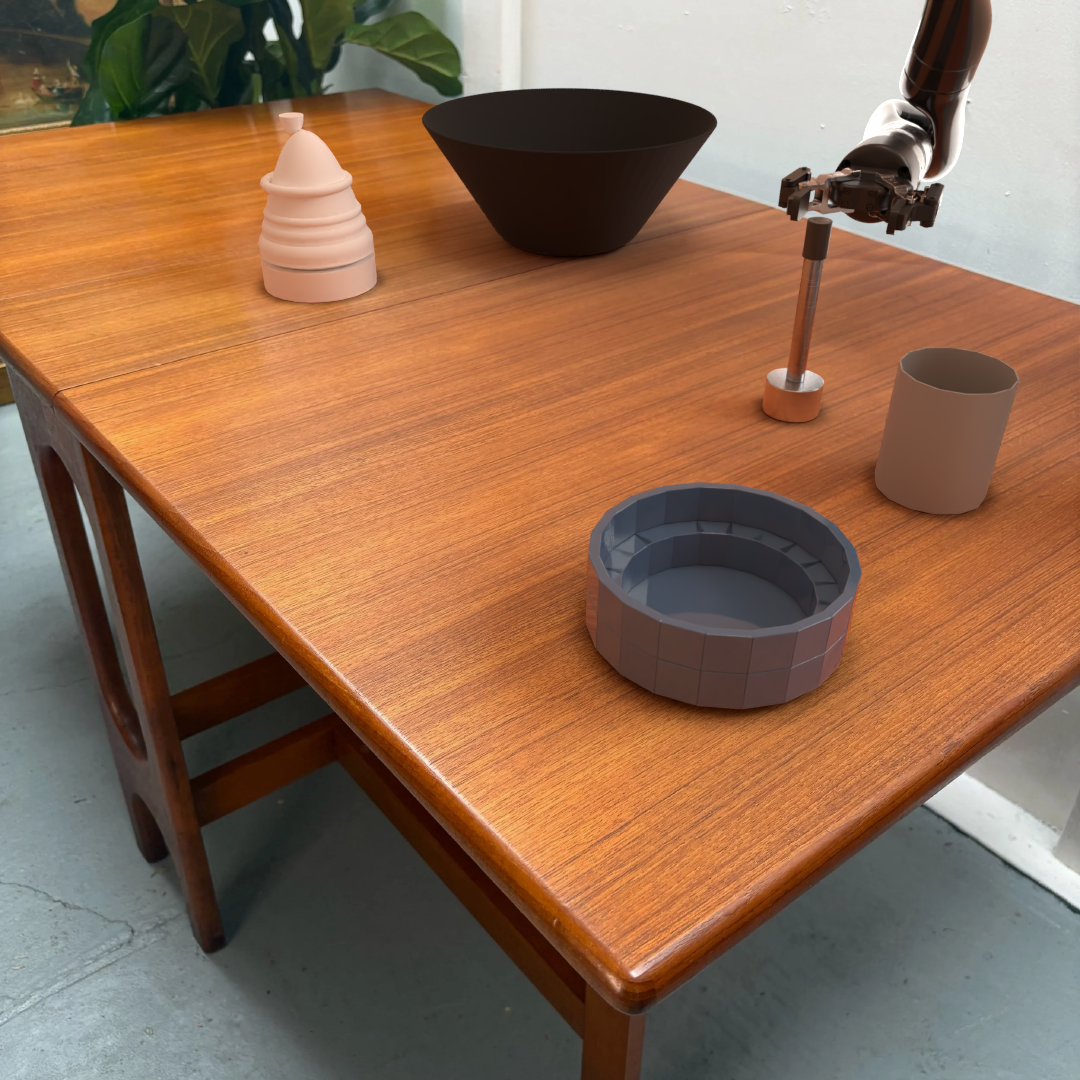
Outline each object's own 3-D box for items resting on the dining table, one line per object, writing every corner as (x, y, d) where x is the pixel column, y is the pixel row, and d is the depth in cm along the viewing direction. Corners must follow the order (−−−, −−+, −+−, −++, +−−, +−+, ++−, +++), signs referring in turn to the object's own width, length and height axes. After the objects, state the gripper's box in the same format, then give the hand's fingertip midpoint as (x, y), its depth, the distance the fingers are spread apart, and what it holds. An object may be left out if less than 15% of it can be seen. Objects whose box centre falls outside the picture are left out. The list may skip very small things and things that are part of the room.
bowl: (738, 219, 139) (751, 102, 130) (650, 307, 112) (659, 166, 103) (505, 188, 151) (503, 79, 142) (375, 260, 124) (364, 131, 116)
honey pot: (243, 282, 118) (215, 117, 108) (334, 256, 126) (316, 100, 115) (306, 311, 111) (283, 137, 100) (399, 282, 118) (387, 117, 108)
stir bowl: (826, 562, 72) (840, 489, 68) (862, 726, 58) (882, 646, 55) (594, 547, 73) (597, 475, 70) (577, 705, 60) (579, 625, 56)
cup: (852, 482, 81) (876, 366, 75) (911, 450, 85) (938, 338, 80) (947, 526, 76) (981, 405, 70) (1005, 490, 80) (1041, 373, 74)
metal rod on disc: (815, 399, 93) (847, 212, 84) (821, 424, 89) (856, 230, 80) (760, 396, 94) (785, 210, 84) (764, 421, 90) (791, 228, 80)
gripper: (816, 127, 102) (769, 163, 90) (964, 142, 97) (935, 183, 85) (805, 202, 106) (759, 246, 94) (946, 221, 101) (916, 270, 89)
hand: (842, 216), depth 90 cm, fingers open, 8 cm apart
